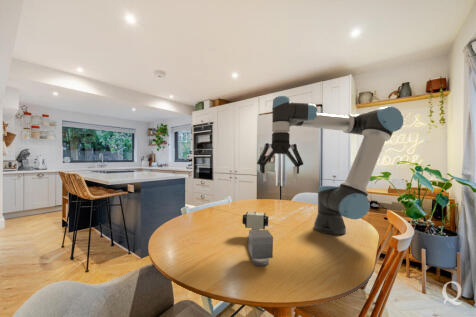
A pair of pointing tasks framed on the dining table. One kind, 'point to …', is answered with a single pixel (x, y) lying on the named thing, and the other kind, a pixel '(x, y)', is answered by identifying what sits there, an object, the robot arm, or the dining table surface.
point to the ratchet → (260, 260)
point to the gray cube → (260, 244)
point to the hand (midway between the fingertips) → (279, 181)
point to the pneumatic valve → (255, 220)
